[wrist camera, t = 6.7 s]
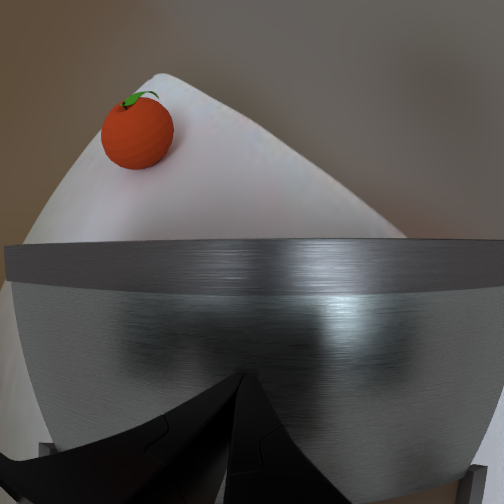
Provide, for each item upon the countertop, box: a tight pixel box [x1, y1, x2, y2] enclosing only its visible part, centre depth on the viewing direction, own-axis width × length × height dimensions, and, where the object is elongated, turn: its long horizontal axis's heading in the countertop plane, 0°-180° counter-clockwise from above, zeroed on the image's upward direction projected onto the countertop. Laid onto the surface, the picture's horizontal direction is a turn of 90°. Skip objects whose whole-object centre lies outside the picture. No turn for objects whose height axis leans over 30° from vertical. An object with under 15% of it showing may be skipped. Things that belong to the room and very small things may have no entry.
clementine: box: [101, 91, 174, 170], centre depth 24 cm, size 8×7×7 cm
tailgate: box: [4, 238, 504, 504], centre depth 10 cm, size 2×22×12 cm
